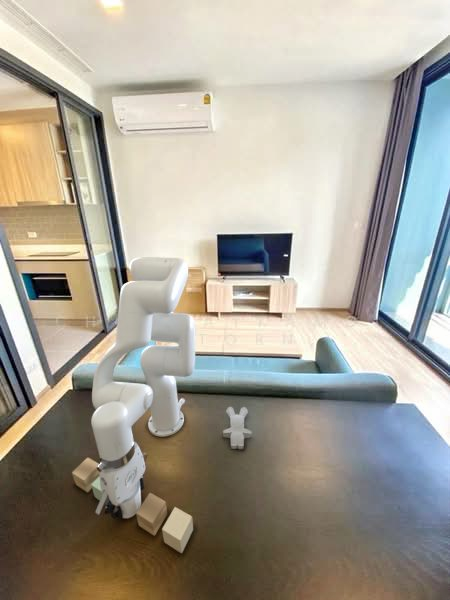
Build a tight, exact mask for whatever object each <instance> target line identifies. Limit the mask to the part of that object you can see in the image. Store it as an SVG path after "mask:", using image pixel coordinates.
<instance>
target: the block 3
mask: <svg viewBox="0 0 450 600" xmlns="http://www.w3.org/2000/svg"><path fill="white" fill-rule="evenodd" d="M135 515H136V520H137V524H138V527H140V528H141V529H143V530H145V531H146V532H148V533H149V534H150V535H152V536H156V535H157V533H158V531H159V529H160V528H161V526H162V524H163V523H164V521H165V519H166V517H167V515H168V508H167V502H166V501H165V500H163V499H162V498H160V497H159V496H157V495H155V494H153V493H151V492H149V493H148V495H147V496H146V497H145V499H144V500H143V502H142V503H141V506H140V508H139V509H138V511H137V512H136V514H135Z"/></svg>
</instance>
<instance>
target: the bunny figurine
mask: <svg viewBox="0 0 450 600" xmlns="http://www.w3.org/2000/svg"><path fill="white" fill-rule="evenodd" d="M248 413H249V411H248V409H247V407H245V406H243V407H241V408H240V411H239V413H237V414H236V413H235V410H234V408H233V407H232V406H228V407H227V409H226V414H227V415H228V417H229V419H230V422H229V424H230V425H229V428H225V429H223V430H222V436H223V438H228V439H230V449H232V450H236V449H238V450H244V446H245V444H244V443H245V439H249V438H252V430H249V429H248V428H246V427H245V418H246V416H247V414H248Z"/></svg>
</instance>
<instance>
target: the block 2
mask: <svg viewBox="0 0 450 600" xmlns="http://www.w3.org/2000/svg"><path fill="white" fill-rule="evenodd" d="M91 486H92V488H91V490H92V492H93V496H94V498H95V499H97V500H98V501H100V500H101V498H102V491H101V486H100V476H99V477H98V478H97V479H96V480H95V481H94V482H93V483H92V485H91Z"/></svg>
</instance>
